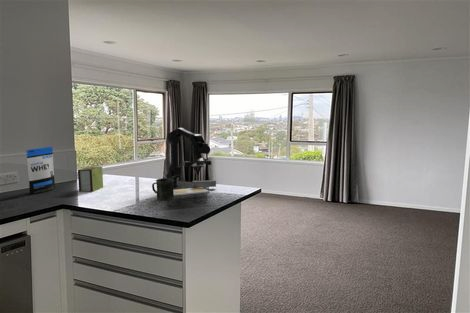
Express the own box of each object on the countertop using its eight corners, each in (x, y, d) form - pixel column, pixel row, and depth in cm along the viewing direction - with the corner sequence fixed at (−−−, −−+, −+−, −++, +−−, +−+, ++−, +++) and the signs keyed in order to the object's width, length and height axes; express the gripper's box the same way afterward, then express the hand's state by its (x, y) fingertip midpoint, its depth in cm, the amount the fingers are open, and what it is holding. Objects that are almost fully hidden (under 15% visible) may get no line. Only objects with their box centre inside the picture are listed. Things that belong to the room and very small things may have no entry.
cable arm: (192, 187, 245) (192, 181, 245) (192, 186, 249) (191, 180, 248) (216, 186, 248) (216, 181, 247) (215, 185, 251) (215, 180, 251)
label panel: (169, 191, 241) (168, 189, 241) (202, 188, 251) (202, 186, 251) (174, 195, 228) (173, 193, 228) (209, 192, 237) (208, 190, 237)
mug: (169, 201, 214) (168, 181, 212) (148, 199, 218) (147, 180, 217) (177, 197, 224) (176, 178, 223) (157, 195, 228) (156, 177, 227)
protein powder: (23, 194, 233) (20, 149, 230) (49, 187, 257) (46, 146, 253) (36, 195, 231) (32, 150, 228) (60, 187, 255) (58, 146, 252)
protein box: (103, 187, 256) (102, 166, 254) (93, 192, 241) (91, 169, 239) (89, 187, 257) (88, 166, 255) (78, 191, 242) (77, 169, 240)
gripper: (186, 154, 226) (187, 178, 228) (214, 153, 234) (214, 176, 236) (182, 153, 237) (182, 175, 238) (208, 151, 244) (208, 174, 246)
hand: (197, 175), depth 239 cm, fingers closed
